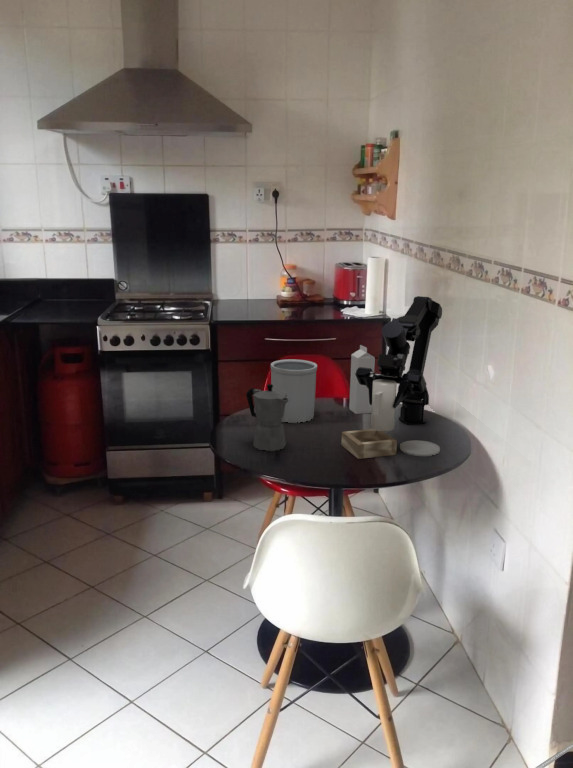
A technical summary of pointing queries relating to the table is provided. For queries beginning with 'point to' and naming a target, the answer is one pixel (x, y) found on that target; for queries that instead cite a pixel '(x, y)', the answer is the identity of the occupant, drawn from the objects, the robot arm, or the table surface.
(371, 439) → the stand
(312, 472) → the table surface
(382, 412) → the jug
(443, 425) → the table surface
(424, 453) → the mat
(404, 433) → the table surface
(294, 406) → the utensil holder
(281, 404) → the coffeepot
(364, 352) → the milk
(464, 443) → the table surface
